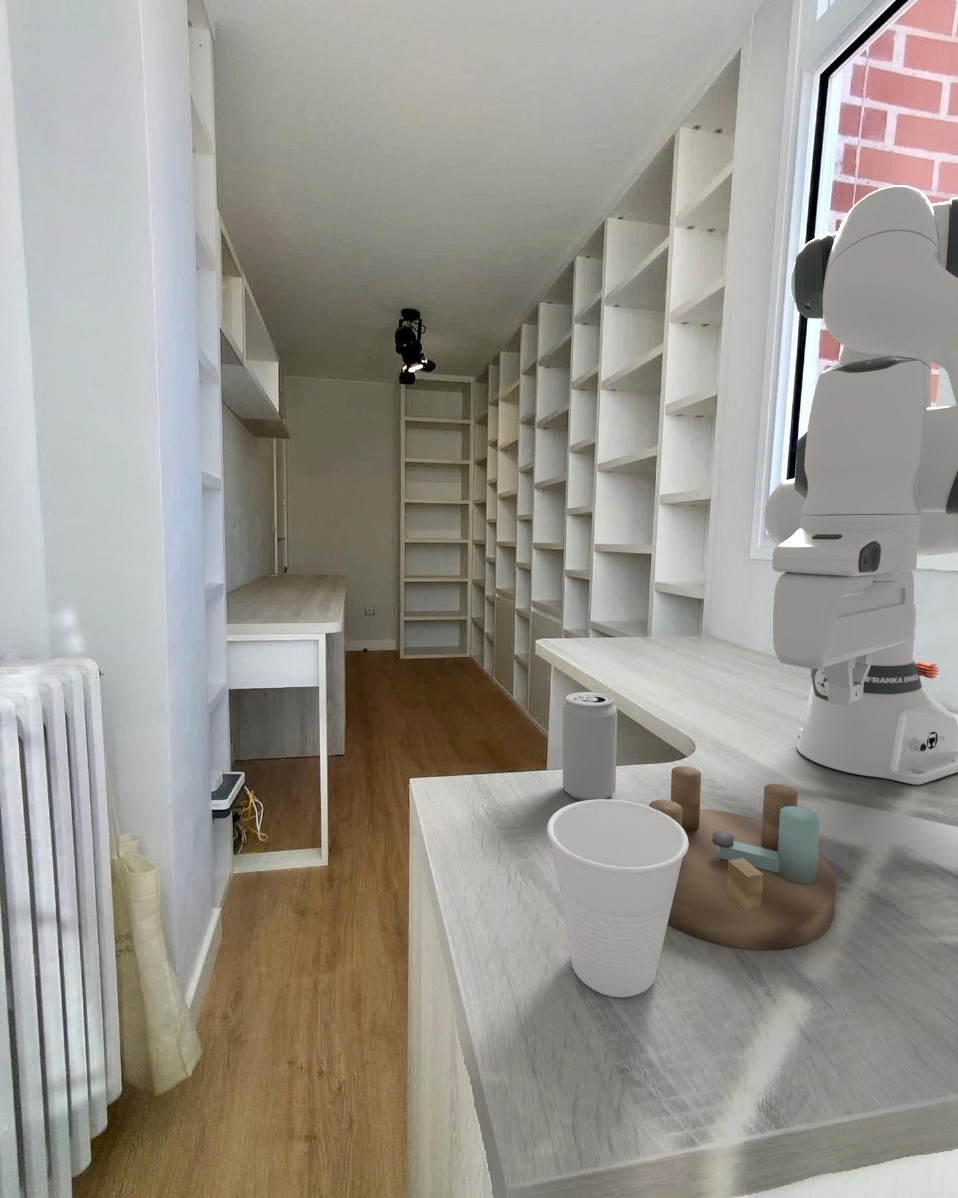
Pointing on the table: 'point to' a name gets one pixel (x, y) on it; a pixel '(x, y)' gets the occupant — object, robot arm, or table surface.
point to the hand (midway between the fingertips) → (844, 702)
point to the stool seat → (741, 876)
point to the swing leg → (781, 846)
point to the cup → (616, 889)
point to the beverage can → (589, 745)
